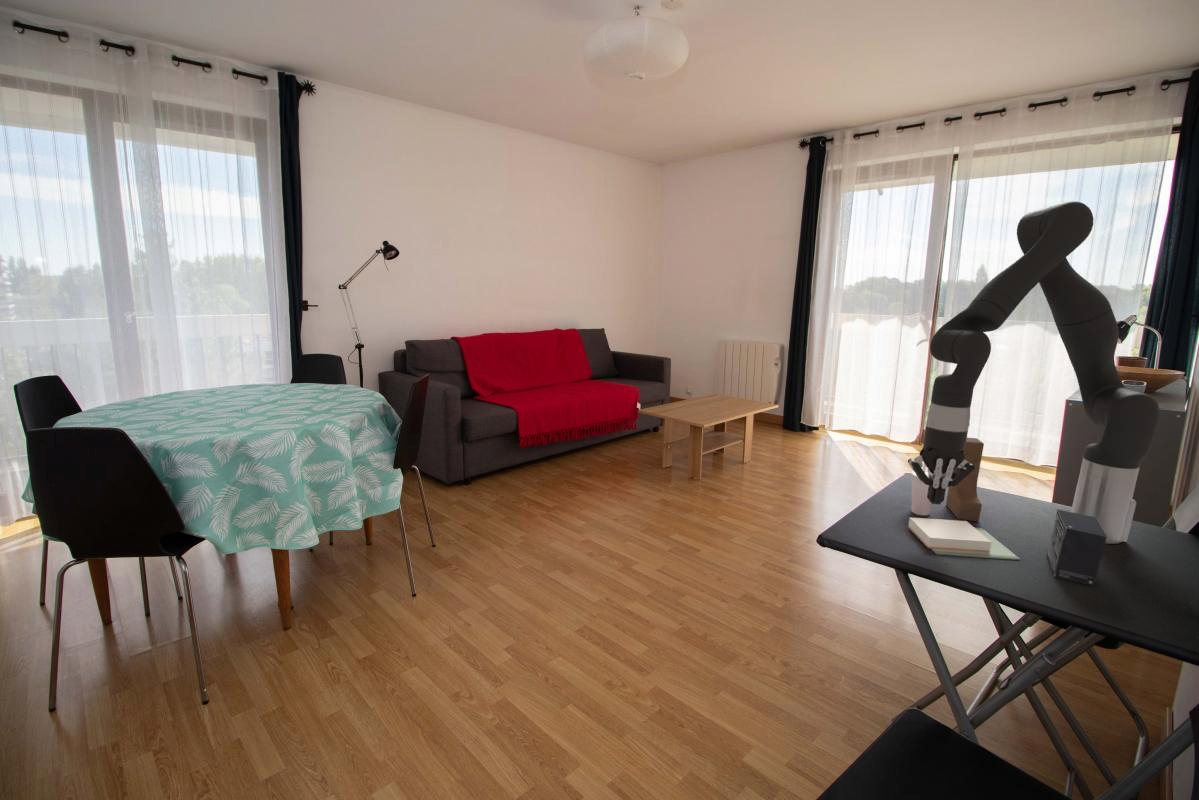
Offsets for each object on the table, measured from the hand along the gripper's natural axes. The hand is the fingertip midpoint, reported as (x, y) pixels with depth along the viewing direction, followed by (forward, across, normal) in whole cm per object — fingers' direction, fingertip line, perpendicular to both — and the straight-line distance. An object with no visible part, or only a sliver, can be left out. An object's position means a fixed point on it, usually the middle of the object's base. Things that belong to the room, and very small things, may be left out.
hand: (934, 503), depth 120 cm
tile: (+7, +2, 0) cm, 7 cm away
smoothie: (+9, -4, -15) cm, 18 cm away
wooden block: (+9, -14, -16) cm, 23 cm away
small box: (+9, -22, +10) cm, 26 cm away
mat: (+8, -6, 0) cm, 11 cm away
